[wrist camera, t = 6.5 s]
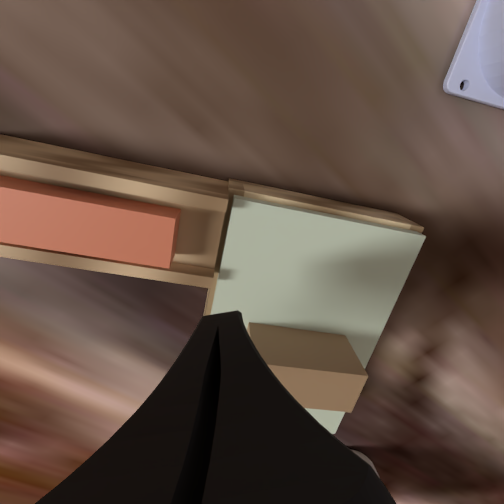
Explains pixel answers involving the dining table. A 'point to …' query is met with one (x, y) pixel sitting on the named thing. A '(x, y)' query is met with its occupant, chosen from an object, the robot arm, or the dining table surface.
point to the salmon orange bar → (87, 223)
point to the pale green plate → (313, 295)
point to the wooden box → (306, 203)
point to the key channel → (128, 187)
